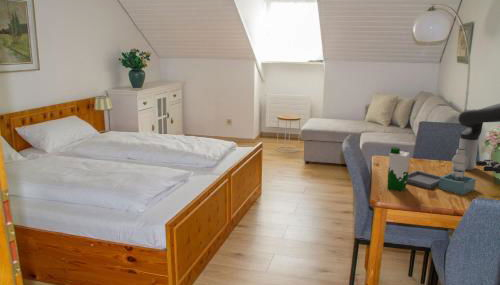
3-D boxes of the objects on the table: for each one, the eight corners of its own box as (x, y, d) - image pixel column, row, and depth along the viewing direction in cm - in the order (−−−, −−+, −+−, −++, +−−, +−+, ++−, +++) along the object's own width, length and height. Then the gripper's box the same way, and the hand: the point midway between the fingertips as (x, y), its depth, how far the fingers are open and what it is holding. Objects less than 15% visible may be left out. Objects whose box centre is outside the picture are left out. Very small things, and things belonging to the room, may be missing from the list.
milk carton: (389, 184, 217) (392, 145, 212) (408, 187, 213) (411, 148, 208) (385, 189, 210) (388, 149, 205) (404, 192, 205) (407, 152, 200)
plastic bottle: (465, 191, 207) (470, 151, 202) (450, 190, 208) (455, 150, 203) (462, 187, 213) (467, 148, 208) (447, 186, 214) (452, 147, 209)
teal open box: (450, 182, 219) (451, 172, 217) (474, 189, 210) (475, 178, 208) (438, 188, 211) (439, 177, 210) (462, 195, 202) (464, 183, 201)
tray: (416, 174, 232) (416, 170, 231) (445, 182, 220) (446, 177, 219) (400, 180, 222) (400, 176, 221) (429, 189, 210) (429, 184, 209)
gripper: (509, 155, 211) (474, 154, 213) (524, 163, 197) (487, 162, 199) (507, 169, 213) (473, 168, 214) (521, 179, 199) (485, 178, 201)
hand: (480, 165), depth 207 cm, fingers open, 8 cm apart
